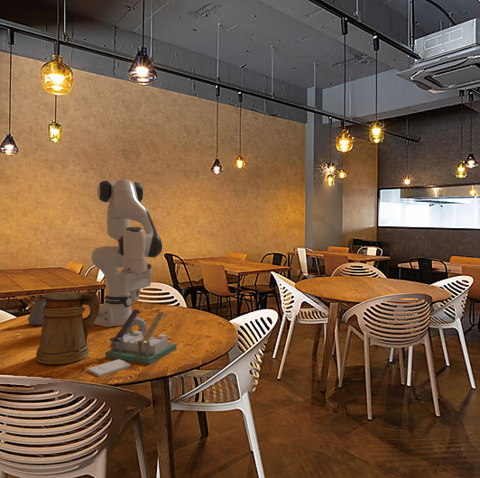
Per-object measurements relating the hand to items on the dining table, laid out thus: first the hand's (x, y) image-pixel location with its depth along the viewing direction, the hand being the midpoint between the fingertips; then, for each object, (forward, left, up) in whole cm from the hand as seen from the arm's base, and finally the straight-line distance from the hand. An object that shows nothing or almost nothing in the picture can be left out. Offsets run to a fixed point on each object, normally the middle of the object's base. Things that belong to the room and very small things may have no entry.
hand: (135, 300), depth 167 cm
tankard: (-18, -17, -20) cm, 32 cm away
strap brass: (+12, -5, -10) cm, 16 cm away
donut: (-7, +10, -20) cm, 23 cm away
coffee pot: (-64, +18, -20) cm, 69 cm away
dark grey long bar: (0, -5, -10) cm, 11 cm away
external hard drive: (+5, -22, -21) cm, 31 cm away
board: (+6, -4, -20) cm, 21 cm away
